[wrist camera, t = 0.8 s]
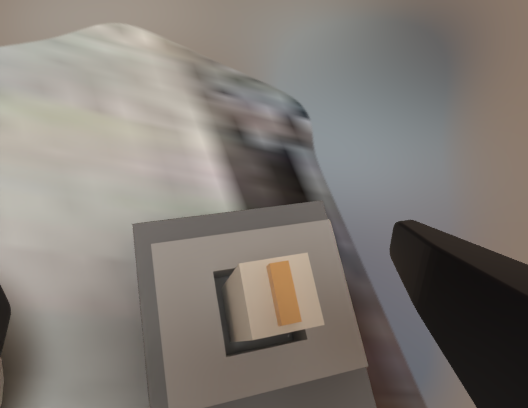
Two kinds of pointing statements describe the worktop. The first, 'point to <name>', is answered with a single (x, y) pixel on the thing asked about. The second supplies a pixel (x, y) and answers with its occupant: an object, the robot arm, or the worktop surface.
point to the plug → (271, 298)
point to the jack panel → (215, 323)
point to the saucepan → (1, 381)
